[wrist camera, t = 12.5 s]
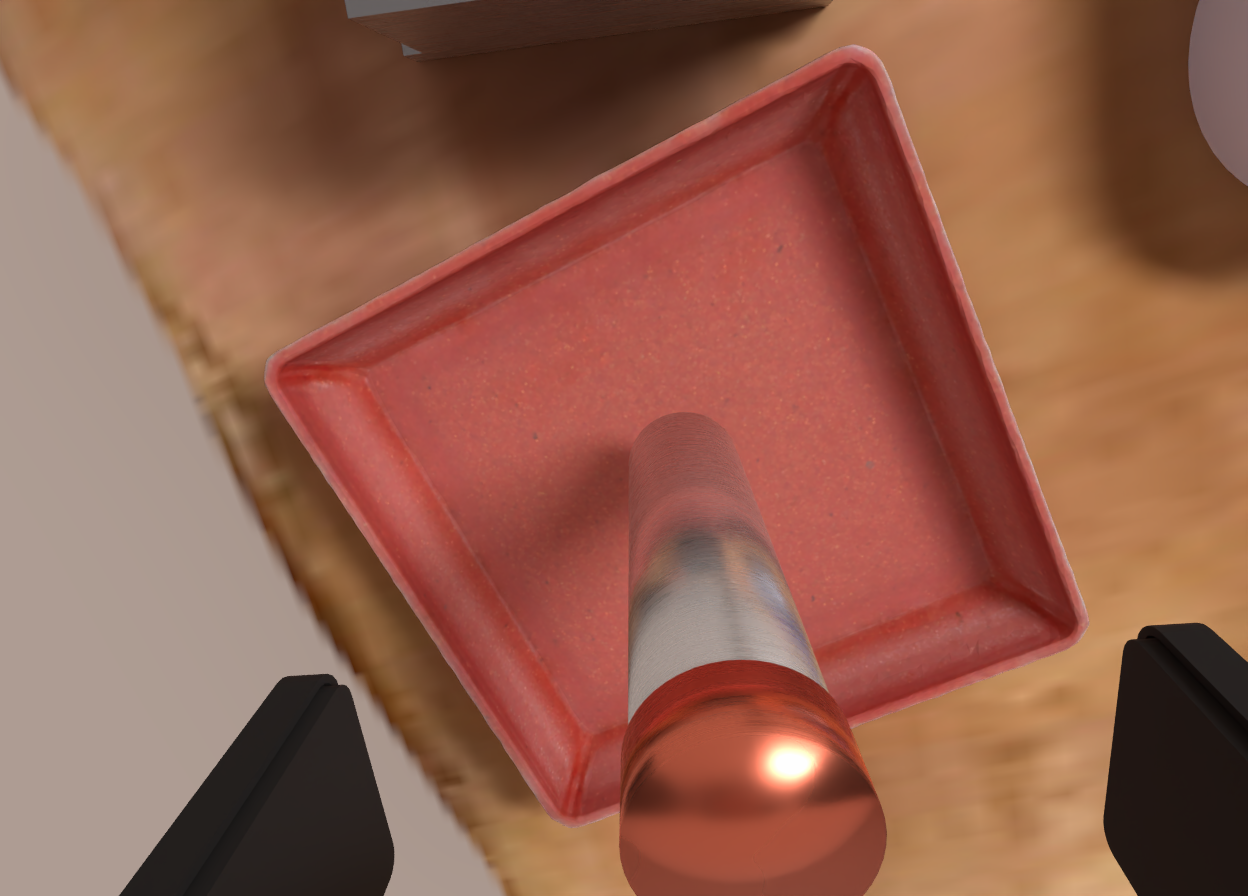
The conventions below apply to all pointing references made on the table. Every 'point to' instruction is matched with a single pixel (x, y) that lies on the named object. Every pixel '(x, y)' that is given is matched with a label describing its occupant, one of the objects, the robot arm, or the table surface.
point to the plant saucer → (704, 384)
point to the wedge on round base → (1221, 80)
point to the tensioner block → (538, 20)
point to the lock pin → (728, 696)
